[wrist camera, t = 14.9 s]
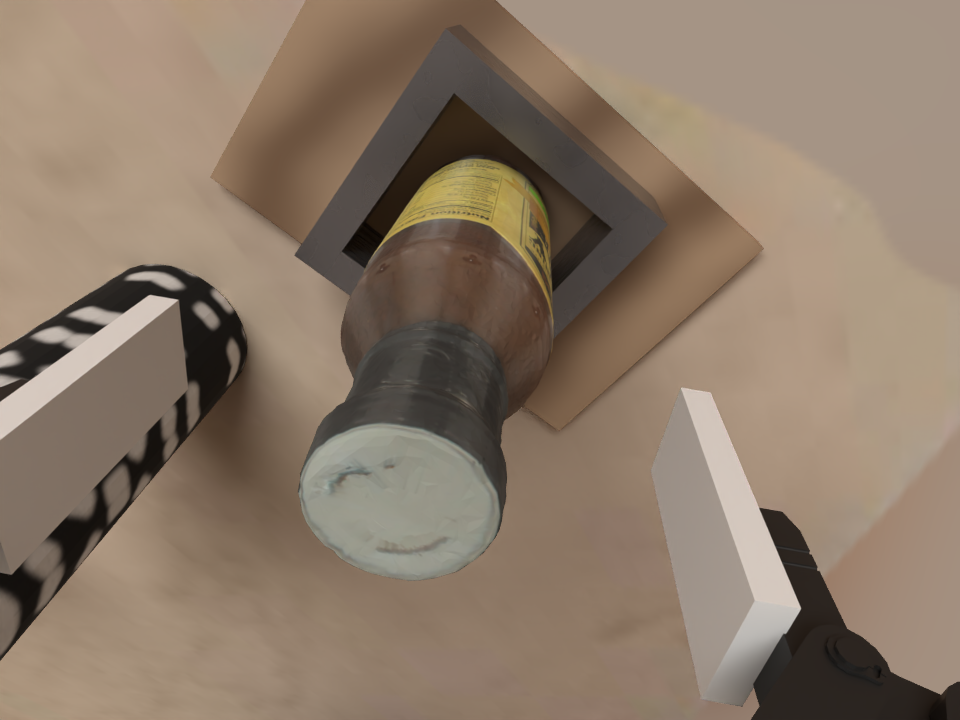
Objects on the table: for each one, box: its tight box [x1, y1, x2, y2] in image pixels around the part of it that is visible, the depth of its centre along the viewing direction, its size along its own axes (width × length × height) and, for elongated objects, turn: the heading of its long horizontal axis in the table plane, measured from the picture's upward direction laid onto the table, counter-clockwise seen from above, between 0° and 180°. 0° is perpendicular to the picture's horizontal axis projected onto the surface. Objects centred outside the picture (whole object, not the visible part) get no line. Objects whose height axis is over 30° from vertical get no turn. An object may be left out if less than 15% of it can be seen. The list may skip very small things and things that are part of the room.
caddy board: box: [211, 0, 764, 431], centre depth 30 cm, size 22×14×1 cm, turn 52°
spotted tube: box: [0, 264, 247, 660], centre depth 27 cm, size 8×8×20 cm
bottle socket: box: [295, 25, 668, 339], centre depth 27 cm, size 11×11×4 cm
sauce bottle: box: [298, 155, 553, 581], centre depth 21 cm, size 6×6×20 cm
